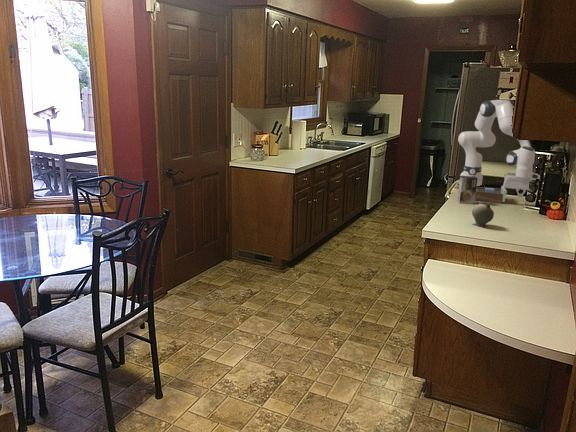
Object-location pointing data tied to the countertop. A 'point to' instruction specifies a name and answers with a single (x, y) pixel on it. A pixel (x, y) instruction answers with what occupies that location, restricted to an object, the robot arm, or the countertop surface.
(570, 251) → the countertop surface
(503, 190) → the tray
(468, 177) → the coffee box
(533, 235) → the countertop surface
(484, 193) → the box
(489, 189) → the block
